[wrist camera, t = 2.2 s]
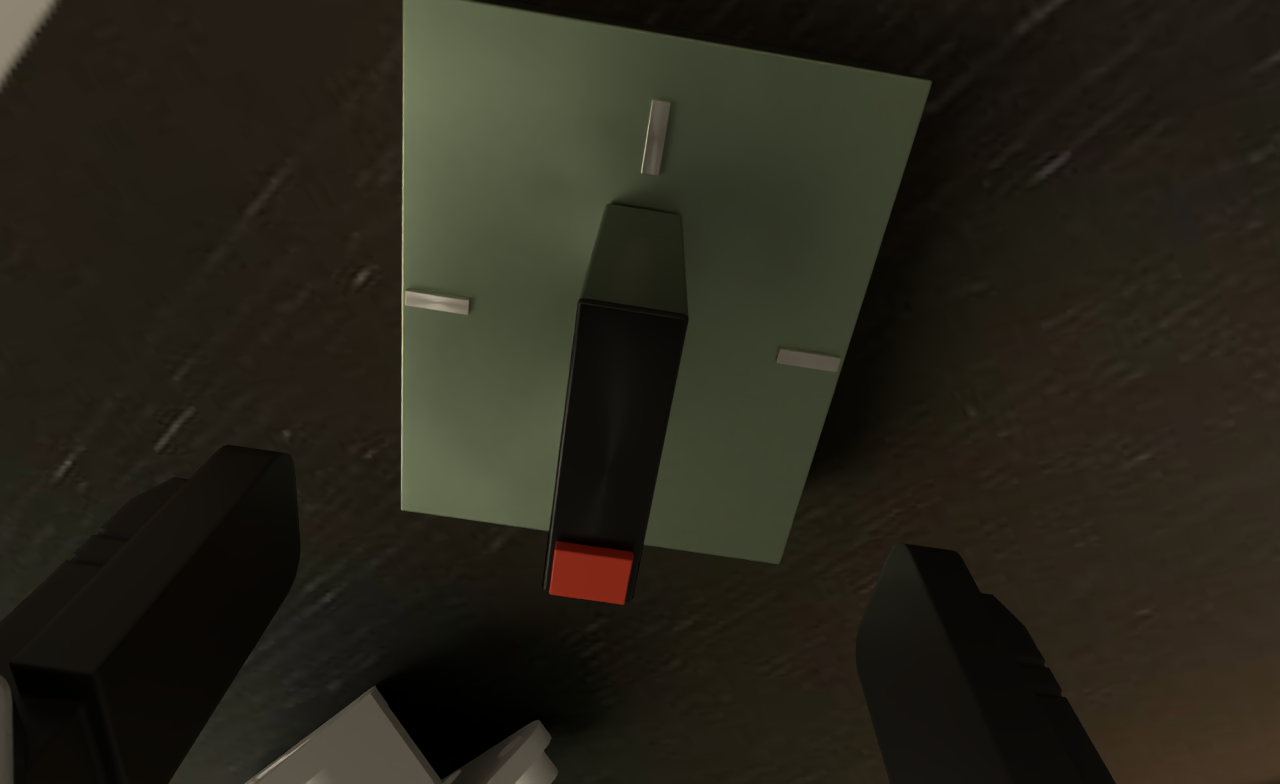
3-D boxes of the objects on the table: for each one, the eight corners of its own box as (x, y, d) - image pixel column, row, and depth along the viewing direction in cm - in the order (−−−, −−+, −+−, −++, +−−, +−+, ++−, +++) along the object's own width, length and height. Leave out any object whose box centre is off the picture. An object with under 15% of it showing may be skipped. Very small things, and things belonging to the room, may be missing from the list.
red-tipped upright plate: (606, 202, 15) (574, 305, 10) (683, 214, 15) (690, 323, 10) (575, 429, 18) (538, 602, 13) (641, 439, 18) (631, 615, 13)
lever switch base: (444, -12, 16) (398, -13, 13) (891, 66, 17) (937, 80, 14) (432, 448, 22) (397, 515, 19) (766, 497, 22) (780, 569, 19)
